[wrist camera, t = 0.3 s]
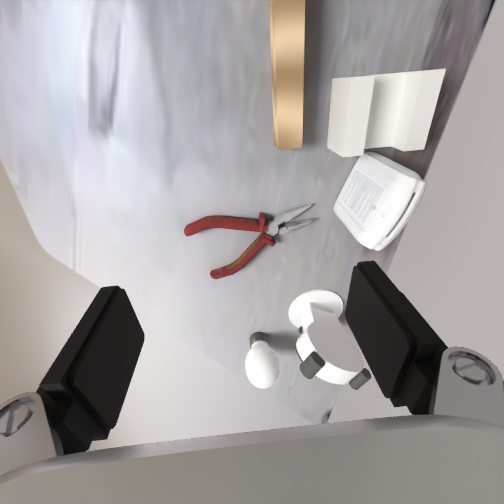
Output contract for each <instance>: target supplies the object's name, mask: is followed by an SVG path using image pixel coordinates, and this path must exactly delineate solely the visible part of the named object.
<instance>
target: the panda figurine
mask: <svg viewBox="0 0 504 504" xmlns="http://www.w3.org/2000/svg"><path fill="white" fill-rule="evenodd" d="M342 311H343V302H342V300H341V298H340V297H339V295H337V294H336V293H335V292H332V291H329V290H324V289H318V290H312V291H309V292H306V293H304V294H302V295H300V296H299V297H297V298H296V299H295V300H294V301H293V302H292V304H291V306H290V308H289V318H290V321H291V322H292V323H293V324H294V325H295V326H296V327H298V328H299V329H298V330H299V333H300V334H301V336H300V337H299V338H298V340H297V343H296V351H297V354H298V356H299V358H300V360H301V361H302V363H301V365H300V370H301V372H302V374H303V375H304V376H305V377H306V378H308V379H311V378H313V377H314V376H315V375H316V376H318V377H319V378H321V379H323V380H325V381H327V382H330V383H334V384H347V383H348V382H349V384H350V386H351V387H352V388H353V389H355V390H358V389H359V388H360V387H361V386H362V385H363V384H365V383H366V382H367V381H368V380H369V379H371V374H370V372H369V371H368V370H367V369H365V368H364V363H363V358H362V355H361V353H360V351H359V349H358V347H357V346H356V344H355V343H354V342H353V340H352V339H351V338H350V337H349V336H348V335H346V334H345V333H344V330H343V328H342V326H341V324H340V322H339V319H338V318H339V316H340V315H341V313H342ZM302 330H303V331H302Z"/></svg>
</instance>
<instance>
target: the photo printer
mask: <svg viewBox="0 0 504 504" xmlns="http://www.w3.org/2000/svg"><path fill="white" fill-rule="evenodd" d="M426 184H427V182H426V181H425V180H423V179H421V178H420V176H419V175H418V174H417V173H416V172H414V171H412V170H410V169H408V168H406V167H404V166H402V165H400V164H398V163H396V162H394V161H392V160H390V159H388V158H386V157H384V156H382V155H380V154H378V153H376V152H372V151H370V152H366V153H363V155H361V156H360V157H359V159H358V160H357V162H356V164H355V166H354V167H353V169H352V171H351V173H350V175H349V177H348V179H347V181H346V183H345V184H344V186H343V188H342V190H341V192H340V194H339V196H338V198H337V201H336V203H335V205H334V212H335V213H336V214H337V215H338V217H339V218H340V219H341V220H342V222H343V223H344V224H345V225H346V227H347V228H348V229H349V230H350V232H351V233H352V234H353V236H354V237H355V238H356V239H357V240H358V241H359V242H360V243H361V244H363V245H364V246H366V247H368V248H369V249H375V250H377V251H380V250H381V249H383V248H384V247H386V246H387V245H388V244H389V243H390V242H391V241H392V240H393V239H394V238H395V237H396V236H397V235H398V234H399V233H400V231H401V230H402V229H403V228H404V226H405V225H406V224H407V222H408V221H409V219H410V218H411V216H412V215H413V213H414V211H415V210H416V208H417V206H418V204H419V202H420V200H421V198H422V196H423V193H424V190H425V188H426Z"/></svg>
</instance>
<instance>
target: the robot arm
mask: <svg viewBox="0 0 504 504" xmlns="http://www.w3.org/2000/svg"><path fill="white" fill-rule="evenodd" d="M345 316H346V320H347V322H348V324H349V326H350V328H351V330H352V332H353V334H354V336H355V338H356V340H357V342H358V345H359V347H360V349H361V351H362V352H363V355H364V356H365V359H366V360H367V363H368V365H369V367H370V369H371V371H372V373H373V375H374V377H375V379H376V381H377V383H378V385H379V387H380V389H381V391H382V393H383V394H384V396H385V397H386V398H390V400H391V402H392V404H393V406H394V407H400V406H407V407H408V409H409V411H410V413H412V415H409V416H397V417H386V418H375V419H363V420H355V421H345V422H335V423H326V424H317V425H308V426H298V427H290V428H280V429H271V430H263V431H253V432H244V433H235V434H227V435H217V436H209V437H200V438H191V439H184V440H175V441H166V442H157V443H149V444H141V445H133V446H124V447H117V448H109V449H102V450H94V451H89V450H88V449H89V447H90V444H91V442H92V441H96V440H105V439H107V438H108V435H109V432H110V429H113V428H114V427H115V425H116V423H117V420H118V417H119V414H120V411H121V408H122V405H123V402H124V399H125V397H126V393H127V391H128V387H129V385H130V382H131V378H132V376H133V373H134V370H135V366H136V364H137V361H138V357H139V355H140V352H141V348H142V346H143V343H144V332H143V330H142V328H141V325H140V323H139V321H138V319H137V316H136V314H135V312H134V309H133V307H132V305H131V303H130V300H129V298H128V296H127V294H126V291H125V290H124V289H121V288H120V287H119V286H109V287H102V288H101V289H100V291H99V292H98V294H97V295H96V297H95V298H94V300H93V301H92V303H91V305H90V306H89V308H88V309H87V311H86V312H85V314H84V316H83V317H82V319H81V320H80V322H79V323H78V325H77V326H76V328H75V330H74V331H73V333H72V334H71V336H70V338H69V339H68V341H67V342H66V344H65V345H64V347H63V348H62V350H61V352H60V353H59V355H58V356H57V358H56V359H55V361H54V363H53V364H52V366H51V368H50V369H49V371H48V372H47V374H46V375H45V377H44V378H43V380H42V382H41V383H40V386H39V388H38V390H37V391H36V393H35V392H26V393H23V394H19V395H17V396H15V397H13V398H11V399H9V400H7V401H6V402H4V403H3V404H2V405H0V504H504V381H503V378H502V375H501V373H500V371H499V370H498V368H497V367H496V366H495V365H494V364H493V363H492V362H491V361H490V360H489V359H487V358H486V357H484V356H483V355H481V354H480V353H477V352H475V351H473V350H470V349H467V348H464V347H451V348H448V347H447V346H446V345H445V343H444V342H443V341H442V340H441V339H440V338H439V336H438V335H437V334H436V333H435V331H434V330H433V329H432V328H431V327H430V325H429V324H428V323H427V322H426V321H425V319H424V318H423V317H422V316H421V315H420V313H419V312H418V311H417V310H416V309H415V308H414V306H413V305H412V304H411V303H410V301H409V300H408V299H407V298H406V297H405V295H404V294H403V293H402V292H400V291H399V290H398V289H397V287H396V286H395V285H394V284H393V283H392V282H391V280H390V279H389V278H388V277H387V275H386V274H385V273H384V272H383V271H382V269H381V268H380V267H379V266H378V264H377V263H376V262H375V261H365V262H359V263H358V264H357V266H354V268H353V272H352V278H351V283H350V289H349V294H348V300H347V305H346V311H345Z"/></svg>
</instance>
